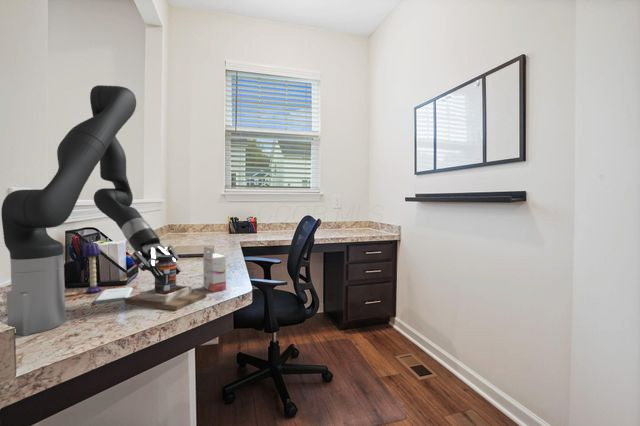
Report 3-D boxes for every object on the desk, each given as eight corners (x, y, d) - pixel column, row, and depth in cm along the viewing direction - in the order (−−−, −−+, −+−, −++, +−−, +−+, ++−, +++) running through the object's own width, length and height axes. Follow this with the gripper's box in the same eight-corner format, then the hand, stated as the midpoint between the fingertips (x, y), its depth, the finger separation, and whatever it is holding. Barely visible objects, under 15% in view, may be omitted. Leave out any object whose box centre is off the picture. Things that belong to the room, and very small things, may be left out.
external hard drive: (93, 306, 86) (103, 294, 98) (126, 302, 90) (132, 291, 101) (93, 300, 86) (103, 289, 98) (126, 297, 90) (132, 286, 101)
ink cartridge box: (226, 289, 101) (226, 247, 100) (212, 292, 97) (212, 248, 97) (216, 284, 107) (216, 244, 107) (203, 287, 104) (202, 246, 103)
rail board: (176, 310, 81) (176, 299, 81) (124, 302, 88) (124, 292, 88) (206, 297, 92) (206, 287, 92) (158, 291, 99) (158, 281, 99)
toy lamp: (101, 293, 97) (99, 243, 97) (83, 295, 95) (81, 244, 94) (101, 289, 101) (100, 241, 101) (84, 291, 99) (83, 242, 98)
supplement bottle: (172, 294, 88) (172, 257, 87) (151, 295, 87) (150, 257, 86) (179, 288, 93) (178, 253, 93) (159, 289, 92) (158, 254, 92)
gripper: (124, 229, 85) (156, 272, 82) (165, 225, 99) (194, 262, 95) (112, 246, 87) (142, 289, 83) (153, 240, 100) (181, 277, 97)
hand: (170, 275), depth 89 cm, fingers closed on supplement bottle, 6 cm apart
